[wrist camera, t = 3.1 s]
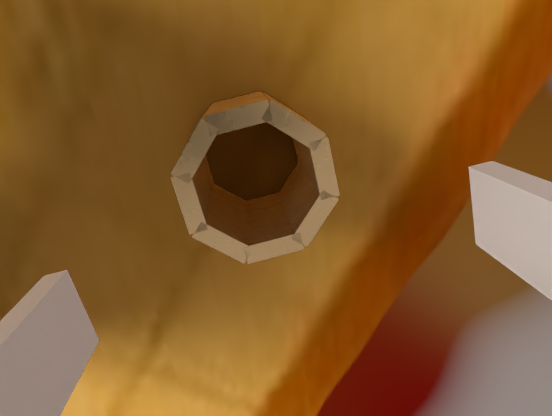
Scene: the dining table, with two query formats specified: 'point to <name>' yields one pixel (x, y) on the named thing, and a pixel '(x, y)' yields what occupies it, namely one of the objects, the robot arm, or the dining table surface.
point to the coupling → (263, 210)
